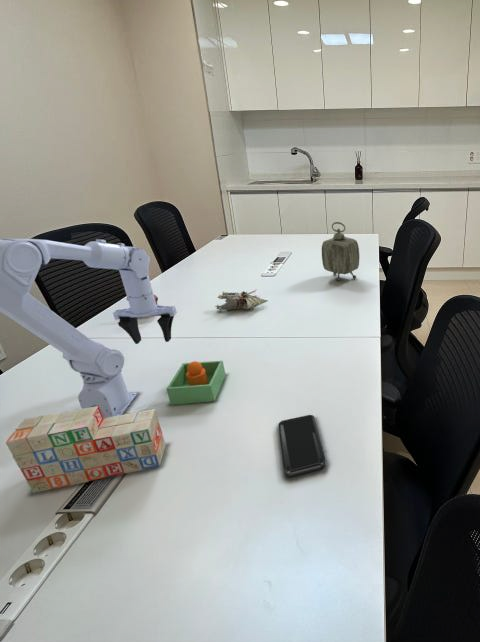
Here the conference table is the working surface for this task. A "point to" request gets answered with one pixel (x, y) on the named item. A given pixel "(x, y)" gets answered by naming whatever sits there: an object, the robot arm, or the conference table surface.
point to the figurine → (239, 301)
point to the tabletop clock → (340, 254)
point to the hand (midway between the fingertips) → (153, 341)
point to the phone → (301, 446)
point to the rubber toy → (196, 374)
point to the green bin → (199, 393)
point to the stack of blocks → (85, 446)
